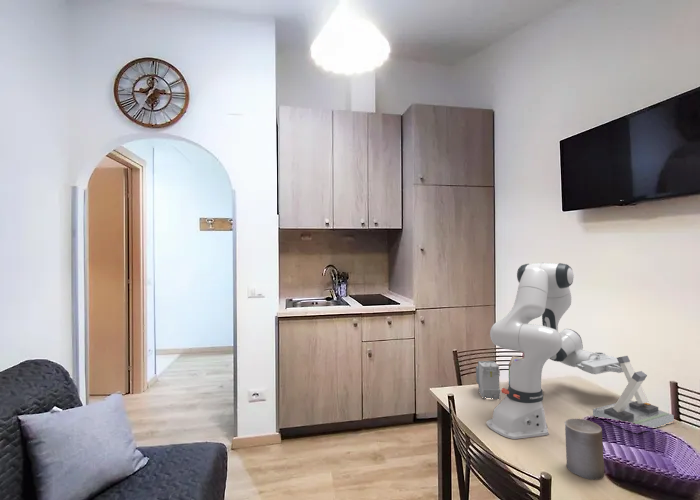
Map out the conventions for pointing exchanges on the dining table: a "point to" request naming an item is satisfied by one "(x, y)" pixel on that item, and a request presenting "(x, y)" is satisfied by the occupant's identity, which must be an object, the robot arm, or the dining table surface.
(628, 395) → the left lever
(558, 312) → the robot arm
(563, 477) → the dining table surface
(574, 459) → the pillar candle
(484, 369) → the circuit breaker
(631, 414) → the panel
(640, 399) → the lever
